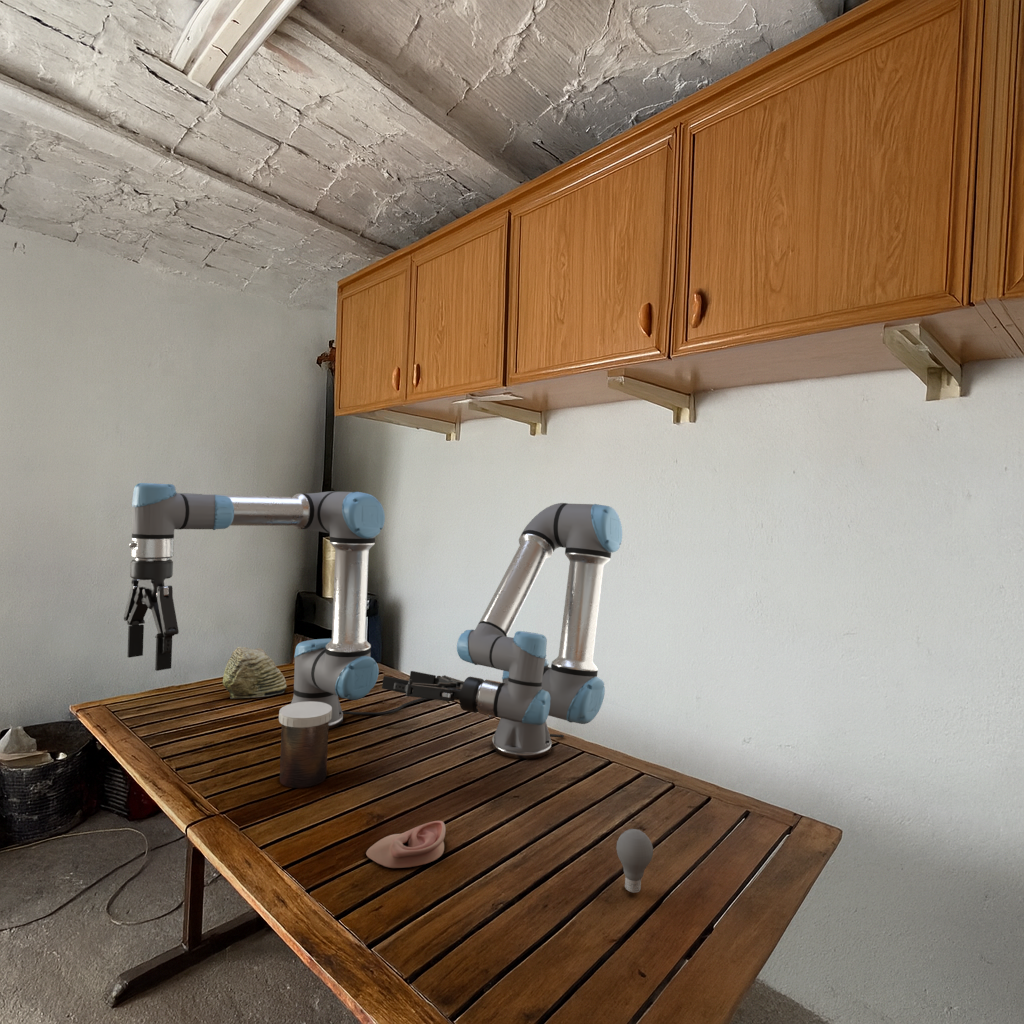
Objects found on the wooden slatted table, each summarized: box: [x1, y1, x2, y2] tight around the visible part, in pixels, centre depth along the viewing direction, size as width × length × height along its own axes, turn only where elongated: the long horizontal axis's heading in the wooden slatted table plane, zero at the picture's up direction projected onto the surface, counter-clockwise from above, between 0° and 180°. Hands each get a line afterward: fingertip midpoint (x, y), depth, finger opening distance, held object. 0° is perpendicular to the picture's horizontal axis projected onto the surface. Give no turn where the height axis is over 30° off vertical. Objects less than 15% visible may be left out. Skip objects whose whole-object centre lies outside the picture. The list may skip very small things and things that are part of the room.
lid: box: [278, 701, 332, 728], centre depth 142 cm, size 11×11×2 cm
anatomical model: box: [365, 820, 447, 869], centre depth 114 cm, size 13×4×12 cm
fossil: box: [222, 646, 288, 699], centre depth 198 cm, size 9×18×15 cm, turn 132°
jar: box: [279, 721, 329, 789], centre depth 142 cm, size 10×10×15 cm
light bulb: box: [615, 828, 654, 894], centre depth 106 cm, size 6×6×10 cm
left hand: (148, 662), depth 129 cm, fingers open, 13 cm apart
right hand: (397, 679), depth 149 cm, fingers open, 13 cm apart
